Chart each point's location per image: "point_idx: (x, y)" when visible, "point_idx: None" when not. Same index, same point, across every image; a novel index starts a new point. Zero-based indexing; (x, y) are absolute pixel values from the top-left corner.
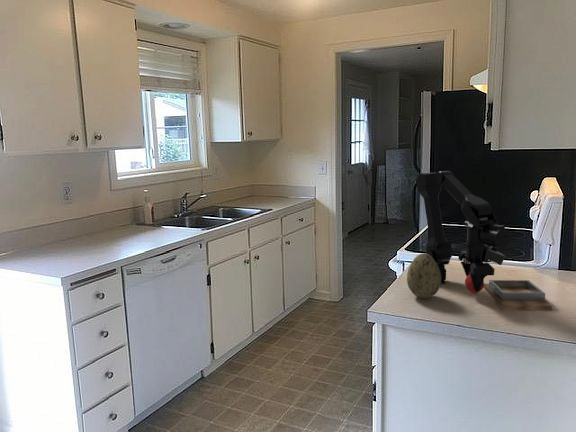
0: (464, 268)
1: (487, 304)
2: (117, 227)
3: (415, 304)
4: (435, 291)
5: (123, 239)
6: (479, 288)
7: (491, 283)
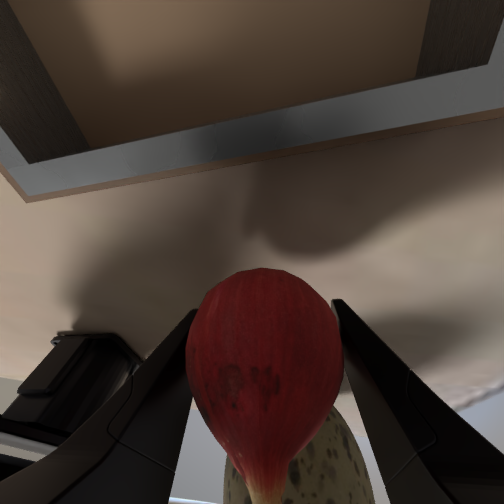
0: (168, 491)
1: (372, 208)
2: None
3: (348, 398)
4: (337, 416)
5: None
6: (359, 318)
7: (99, 179)
